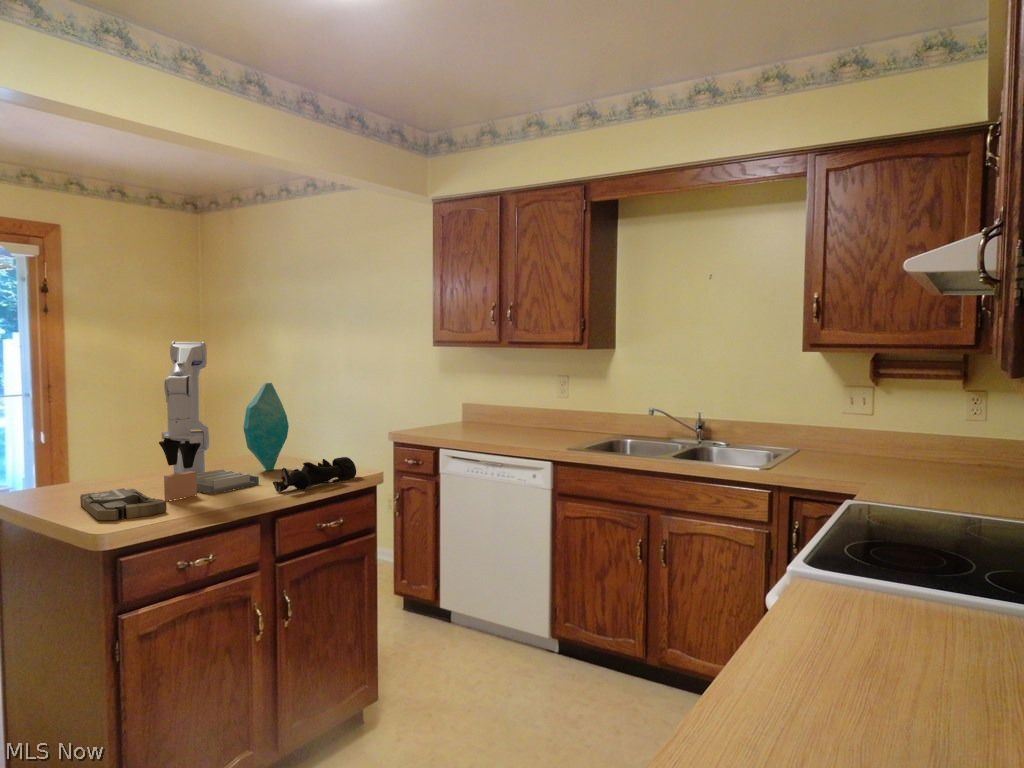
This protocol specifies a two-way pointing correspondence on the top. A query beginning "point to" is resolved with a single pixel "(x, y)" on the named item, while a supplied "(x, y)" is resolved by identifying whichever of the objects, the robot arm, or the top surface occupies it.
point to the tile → (180, 485)
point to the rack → (223, 481)
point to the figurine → (317, 474)
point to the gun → (121, 504)
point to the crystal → (266, 426)
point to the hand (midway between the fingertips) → (180, 466)
